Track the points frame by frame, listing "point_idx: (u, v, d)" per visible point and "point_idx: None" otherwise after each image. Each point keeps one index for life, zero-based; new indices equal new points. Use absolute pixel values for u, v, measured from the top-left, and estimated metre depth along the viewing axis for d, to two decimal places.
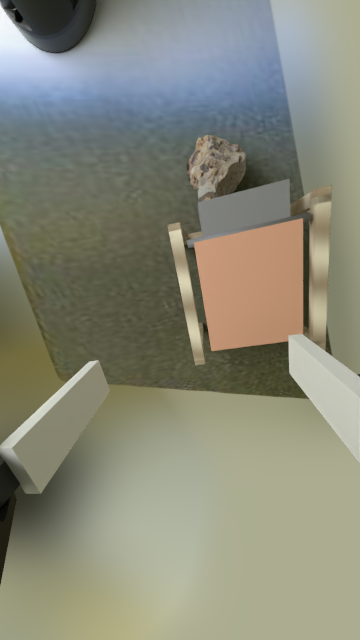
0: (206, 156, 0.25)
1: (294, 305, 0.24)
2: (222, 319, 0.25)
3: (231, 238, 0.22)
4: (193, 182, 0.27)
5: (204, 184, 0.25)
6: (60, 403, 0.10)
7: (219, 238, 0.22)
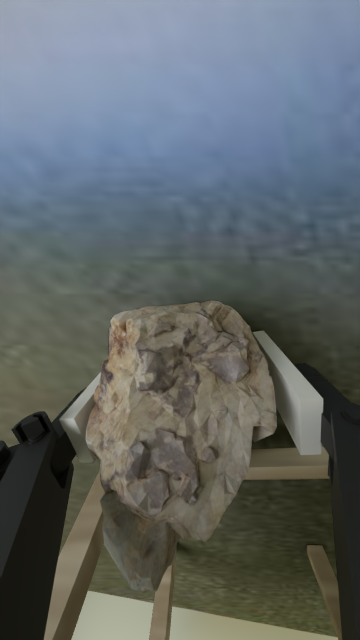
0: (119, 448, 0.06)
1: None
2: None
3: None
4: None
5: (119, 535, 0.07)
6: None
7: None
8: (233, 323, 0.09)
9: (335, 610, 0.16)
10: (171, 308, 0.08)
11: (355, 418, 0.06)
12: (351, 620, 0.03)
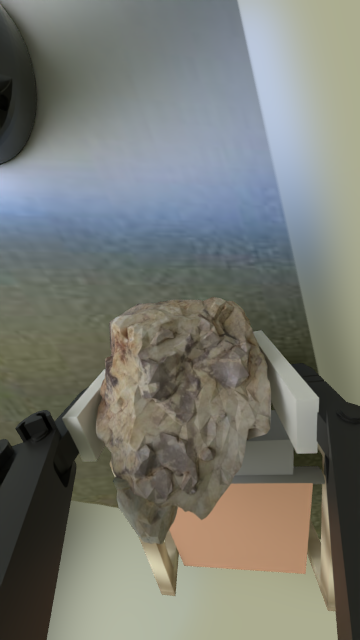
0: (128, 448, 0.07)
1: (295, 549, 0.17)
2: (196, 546, 0.19)
3: None
4: None
5: (131, 506, 0.08)
6: None
7: None
8: (236, 324, 0.09)
9: None
10: (173, 311, 0.08)
11: (350, 417, 0.06)
12: (346, 617, 0.03)
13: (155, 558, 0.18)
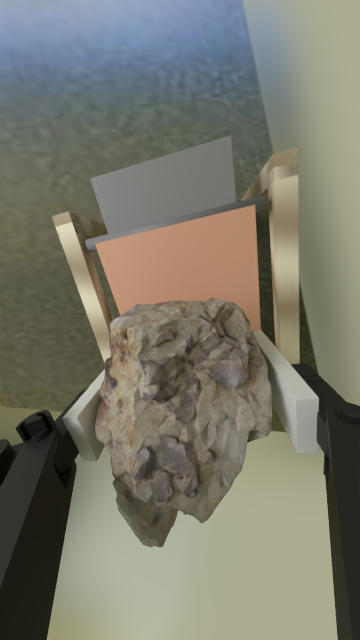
0: (127, 450, 0.07)
1: None
2: None
3: (149, 237, 0.14)
4: None
5: (131, 508, 0.08)
6: None
7: (131, 237, 0.14)
8: (236, 325, 0.09)
9: None
10: (173, 312, 0.08)
11: (350, 417, 0.06)
12: (345, 617, 0.03)
13: None
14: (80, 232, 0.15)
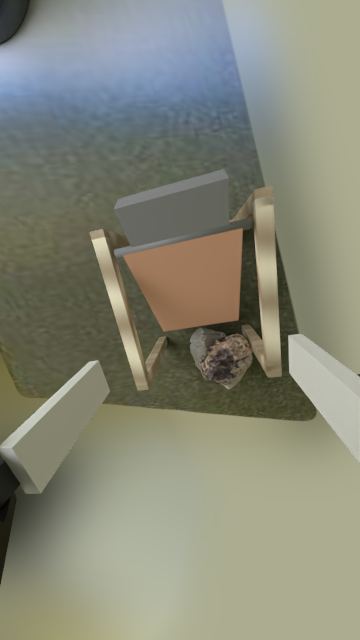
0: None
1: (232, 300, 0.25)
2: (168, 312, 0.27)
3: (164, 250, 0.19)
4: (201, 371, 0.33)
5: None
6: (60, 403, 0.10)
7: (150, 250, 0.19)
8: None
9: (248, 332, 0.31)
10: (241, 377, 0.28)
11: None
12: None
13: (130, 343, 0.22)
14: (109, 244, 0.20)
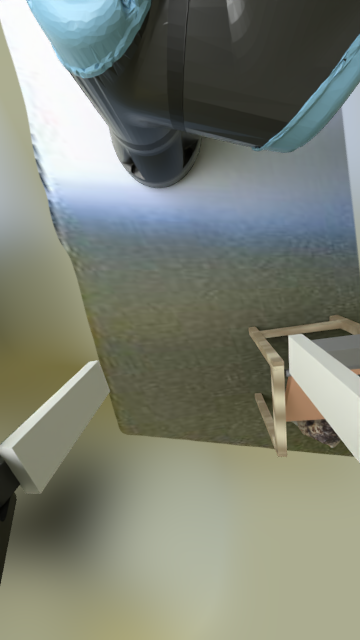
0: None
1: None
2: (297, 409, 0.33)
3: None
4: (299, 427, 0.42)
5: (295, 421, 0.44)
6: (60, 403, 0.10)
7: None
8: None
9: None
10: None
11: None
12: None
13: (281, 428, 0.31)
14: None
